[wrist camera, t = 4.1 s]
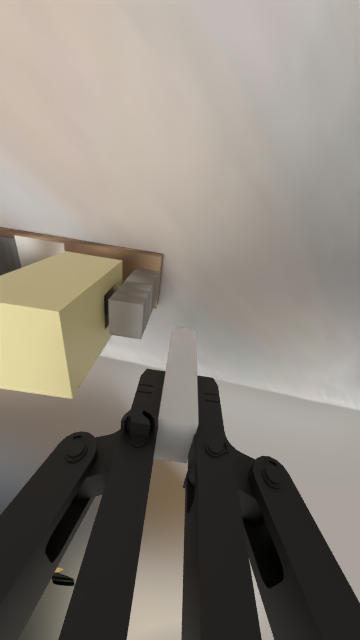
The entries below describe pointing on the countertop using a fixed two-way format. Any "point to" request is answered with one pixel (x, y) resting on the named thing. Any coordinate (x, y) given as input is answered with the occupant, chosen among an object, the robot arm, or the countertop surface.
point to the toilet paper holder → (137, 266)
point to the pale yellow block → (54, 322)
